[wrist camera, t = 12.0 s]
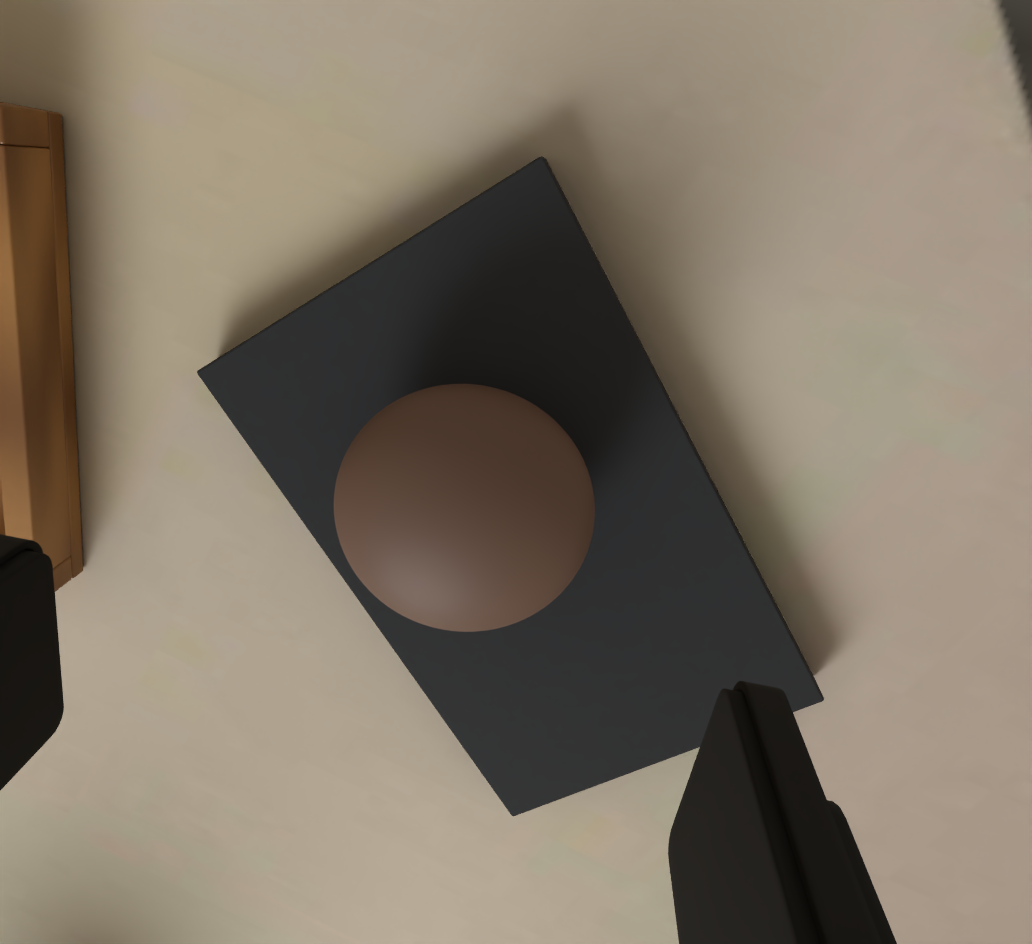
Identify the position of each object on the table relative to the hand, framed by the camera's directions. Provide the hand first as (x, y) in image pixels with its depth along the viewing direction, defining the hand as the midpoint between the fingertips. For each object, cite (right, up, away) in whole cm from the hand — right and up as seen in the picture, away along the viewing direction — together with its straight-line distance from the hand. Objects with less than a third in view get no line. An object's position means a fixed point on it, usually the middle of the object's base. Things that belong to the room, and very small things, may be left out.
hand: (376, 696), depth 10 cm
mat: (+2, +2, +10) cm, 11 cm away
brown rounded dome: (+1, +3, +9) cm, 9 cm away
